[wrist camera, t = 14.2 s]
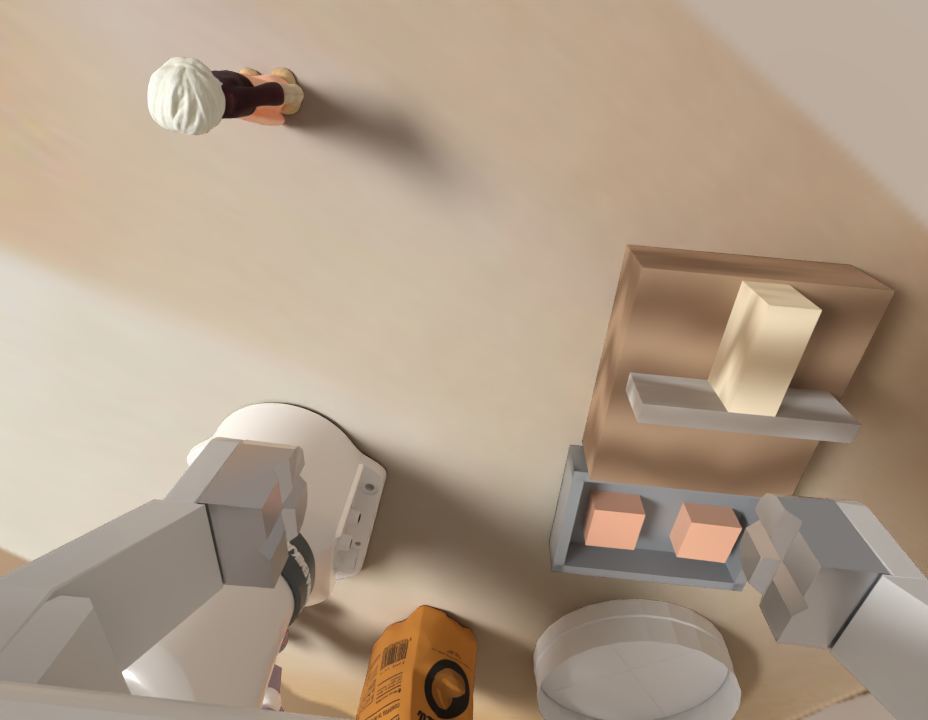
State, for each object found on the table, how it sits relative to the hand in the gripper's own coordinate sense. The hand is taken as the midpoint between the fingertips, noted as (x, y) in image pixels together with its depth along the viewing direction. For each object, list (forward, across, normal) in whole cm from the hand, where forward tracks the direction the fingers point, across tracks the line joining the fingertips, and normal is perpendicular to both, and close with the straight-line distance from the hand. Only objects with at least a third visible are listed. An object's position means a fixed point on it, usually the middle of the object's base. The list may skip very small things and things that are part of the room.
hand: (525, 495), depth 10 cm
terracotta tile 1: (+28, +21, -30) cm, 46 cm away
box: (+31, +17, -29) cm, 46 cm away
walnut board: (+31, +17, -13) cm, 38 cm away
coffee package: (+31, -4, -53) cm, 62 cm away
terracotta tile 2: (+28, +13, -29) cm, 43 cm away
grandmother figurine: (+31, -16, +4) cm, 35 cm away
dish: (+32, +20, -53) cm, 65 cm away
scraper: (+26, +17, -9) cm, 32 cm away
